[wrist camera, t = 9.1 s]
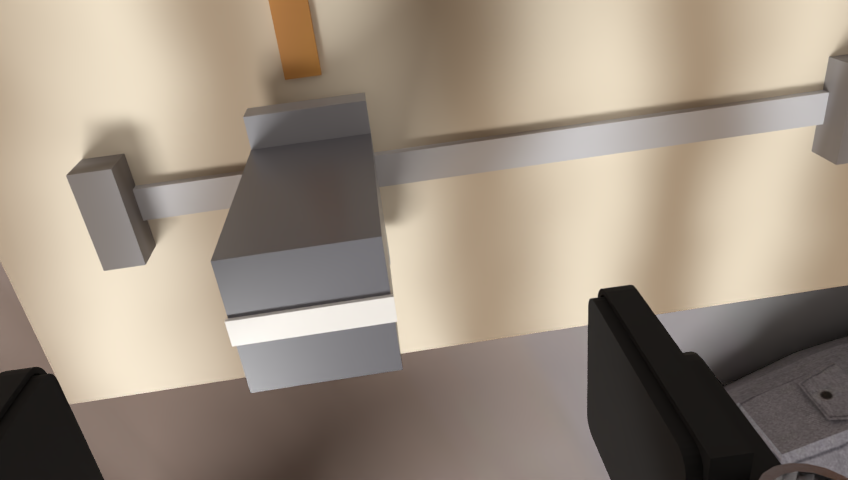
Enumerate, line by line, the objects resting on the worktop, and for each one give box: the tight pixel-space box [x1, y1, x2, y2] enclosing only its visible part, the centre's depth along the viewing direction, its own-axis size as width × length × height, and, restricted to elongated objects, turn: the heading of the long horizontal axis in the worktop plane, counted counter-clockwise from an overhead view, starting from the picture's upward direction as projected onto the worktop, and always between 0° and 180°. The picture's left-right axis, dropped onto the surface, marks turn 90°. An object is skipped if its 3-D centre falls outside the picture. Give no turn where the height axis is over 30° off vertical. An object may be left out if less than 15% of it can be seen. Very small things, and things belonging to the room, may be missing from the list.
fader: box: [211, 92, 403, 393], centre depth 16 cm, size 3×5×7 cm, turn 6°
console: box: [0, 0, 848, 404], centre depth 21 cm, size 30×14×4 cm, turn 96°
